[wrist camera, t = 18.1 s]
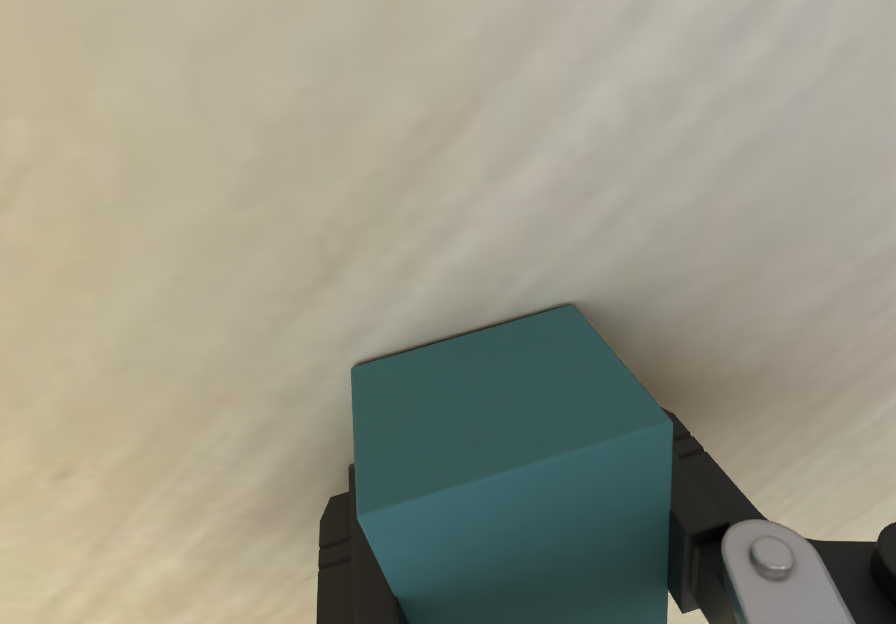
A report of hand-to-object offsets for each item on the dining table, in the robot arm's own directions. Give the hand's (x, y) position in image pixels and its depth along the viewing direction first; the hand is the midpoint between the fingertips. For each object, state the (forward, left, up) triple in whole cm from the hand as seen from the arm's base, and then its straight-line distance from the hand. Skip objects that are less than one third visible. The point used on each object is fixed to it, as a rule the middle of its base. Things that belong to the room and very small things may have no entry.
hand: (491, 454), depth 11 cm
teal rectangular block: (0, 0, 0) cm, 0 cm away
